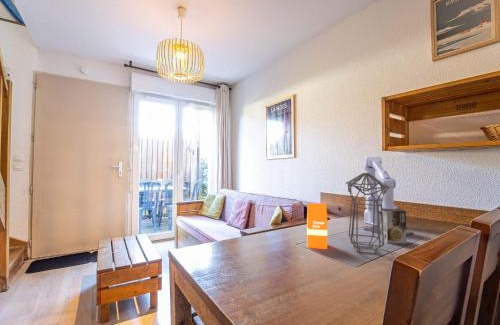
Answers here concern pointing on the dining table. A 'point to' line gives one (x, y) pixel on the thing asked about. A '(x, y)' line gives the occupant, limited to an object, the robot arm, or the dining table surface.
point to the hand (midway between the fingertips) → (387, 223)
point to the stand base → (381, 230)
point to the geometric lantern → (366, 204)
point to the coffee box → (394, 225)
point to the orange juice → (316, 226)
